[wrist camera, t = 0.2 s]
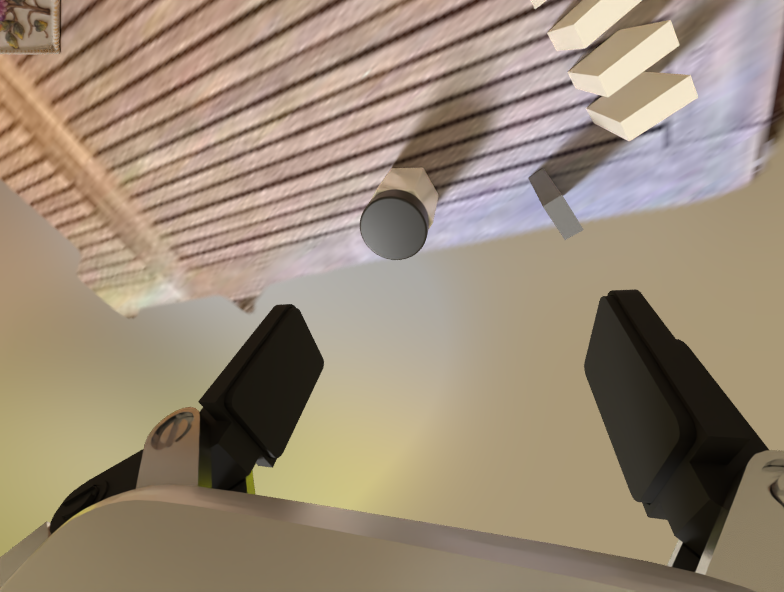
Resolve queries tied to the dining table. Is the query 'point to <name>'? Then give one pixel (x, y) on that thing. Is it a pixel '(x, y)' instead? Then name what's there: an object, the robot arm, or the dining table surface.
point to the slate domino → (555, 204)
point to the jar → (399, 214)
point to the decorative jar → (29, 26)
